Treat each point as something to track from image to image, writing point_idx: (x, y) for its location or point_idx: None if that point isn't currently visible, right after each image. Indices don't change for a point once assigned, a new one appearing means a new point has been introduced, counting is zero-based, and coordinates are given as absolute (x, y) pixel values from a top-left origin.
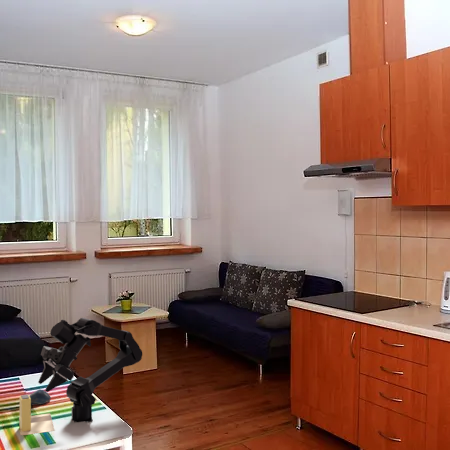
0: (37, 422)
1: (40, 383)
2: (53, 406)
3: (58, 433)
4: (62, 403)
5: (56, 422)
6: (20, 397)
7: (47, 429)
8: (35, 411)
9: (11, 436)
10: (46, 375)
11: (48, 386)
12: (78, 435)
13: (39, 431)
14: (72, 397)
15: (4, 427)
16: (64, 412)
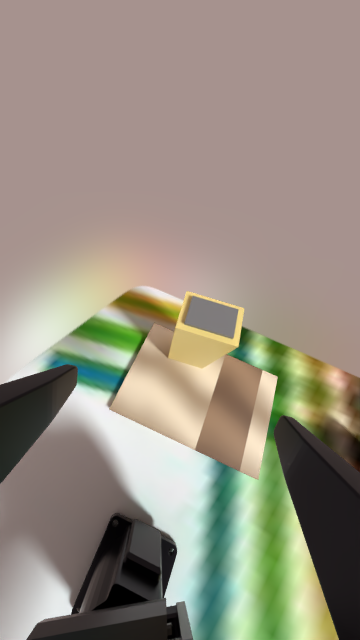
0: (207, 400)
1: (276, 432)
2: None
3: (93, 414)
4: None
5: (179, 459)
6: (222, 302)
7: (135, 396)
8: None
9: (175, 312)
10: (339, 548)
11: (20, 380)
12: (19, 462)
13: (139, 370)
14: (84, 616)
15: None
16: (250, 545)
